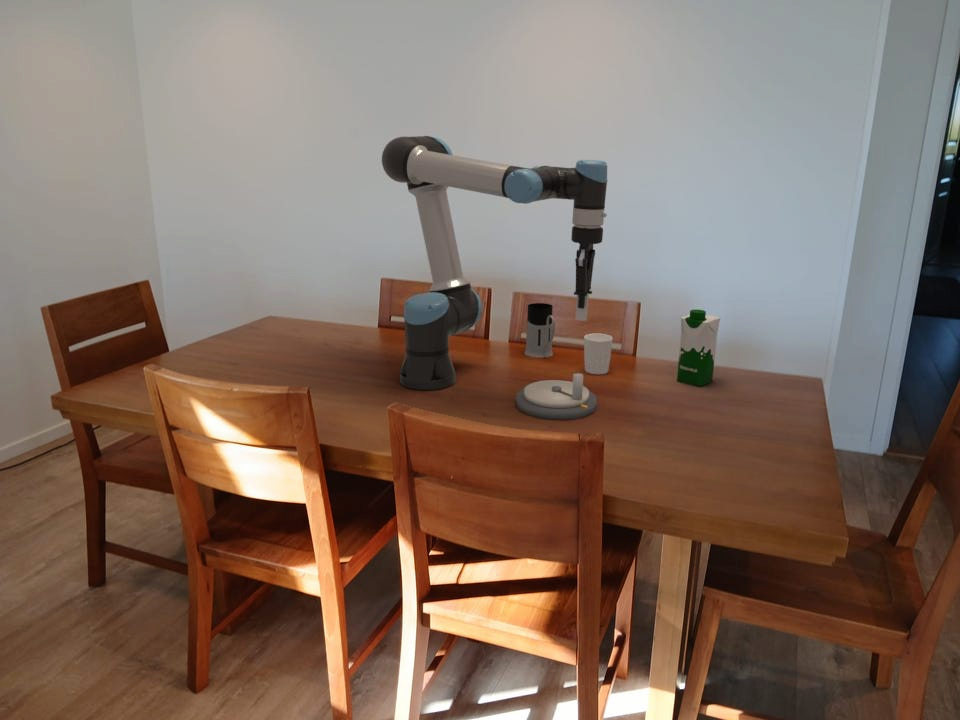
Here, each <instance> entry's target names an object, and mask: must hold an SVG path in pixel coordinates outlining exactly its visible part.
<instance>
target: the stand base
mask: <svg viewBox="0 0 960 720" xmlns="http://www.w3.org/2000/svg"><path fill="white" fill-rule="evenodd" d="M524 389H525V387H524V388H522V389H520V390H519V391H518V392H517V393H516V395H515V407H516V408H517V409H518V410H519V411H520V412H522V413H524V414H526V415H528V416H530V417H535V418H539V419H543V420H544V419H545V420H556V421H566V420H568V421H569V420H577V419H581V418H584V417H588V416H589V415H592V414H593V413H594V412H596V410H597V405H598V398H597V395H596V394H594V393H593V392H592V391H590V390H589V399H588V401H587V402H586V403H584V404H582V405H580V406H576V407H570V408H550V407H543V406H539V405H535V404H533V403H530V402H529V401H527V400H526V399H525V397H524Z"/></svg>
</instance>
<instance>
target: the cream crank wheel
mask: <svg viewBox="0 0 960 720" xmlns="http://www.w3.org/2000/svg"><path fill="white" fill-rule="evenodd" d="M524 388H525V389H524ZM524 388H523V389H524V397H525V399H526V400H527V401H529V402H530V403H533V404H535V405H539V406H543V407H550V408H570V407H576V406H580V405H582V404H584V403H586V402H587V401H588V399H589V391H590V390H589V389H588V388H587V387H586V386H584V374H583V373H579V372H578V373H573V375H572V381H567V380H561V379H560V380H557V379H551V380H550V379H548V380H545V379H544V380H538V381H535V382H531V383H529V384H528V385H526V386H524Z"/></svg>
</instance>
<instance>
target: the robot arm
mask: <svg viewBox="0 0 960 720" xmlns="http://www.w3.org/2000/svg"><path fill="white" fill-rule="evenodd" d="M381 164H382V165H381V166H382V168H383V171H384V172H385V174H386V176H388V177H389V178H390V179H391V180H392V181H395V182H398V183H401V184H402V183H404V184H406V185H407V190H408V193H410V194H412V195H413V196H414V197H415V202H416V206H417V210H418V215H419V220H420V224H421V230H422V236H423V240H424V245H425V250H426V254H427V255H426V256H427V259H428V264H429V269H430V274H431V279H432V285H430V288H429V289H428V290H429V291H428V292H424V293H419V294H418V293H417V294H414V295H412V296H410V297H409V298H408V299H407V300H406V301H405V303H404V312H403V319H404V344H405V347H404V348H405V355H404V357H403V362H402V366H401V370H400V373H399V383H400V385H402V386H403V387H405V388H407V389H412V390H419V391H435V390H441V389H445V388H448V387H451V386H453V385H454V384H455V383H456V371H455V368H454V364H453V362H452V359H451V356H450V347H449V346H450V341H449V338H451V337H452V336H456V335H458V334H460V333H465V332H467V331H469V330H470V329H471V328H472V327H474V326H475V325H477V324H478V323H479V321H480V318H481V316H482V313H483V304H482V303H483V302H482V300H481V297H480V295H479V294H478V293H476V291H475V290H474V289H472V286H471V281H469V280H468V279H467V278H465V276H464V273H463V270H462V263H461V259H460V254H459V249H458V244H457V239H456V234H455V233H456V232H455V228H454V223H453V219H452V213H451V207H450V204H449V198H448V193H447V190H448V188H454V189H459V190H464V191H471V192H476V193H480V194H486V195H492V196H495V197H501V198H505V199H509V200H510V201H512V202H514V203H515V204H527V205H528V204H531V203H532V202H533V203H534V202H539V201H545V200H550V199H558V200H559V199H561V200H573V208H572V219H571V220H572V221H571V222H572V225H573V226H572V227H571V242H573V243H576V244H577V243H578V244H579V247H578V249H576V254H575V255H576V257H575V259H574V261H575V290H574V292H573V296H576V302H575V304H576V305H575V321H583V322H586V321H587V320H588V312H589V308H588V307H589V300H590V299H589V295H592V294H593V291H592V290H591V289H592V278H593V271H594V264H595V262H594V261H595V256H596V249H594V245H597V244H601V243H603V238H604V237H603V236H604V228H603V227H602V226H603V225H604V221H605V220H604V219H605V218H607V216H608V215H607V213H606V212H605V207H606V206H605V205H606V195H607V187H608V186H607V185H608V164H607V162H606V161H604V160H600V159H599V160H598V159H596V160H595V159H578V160H577V161H576V164H575V167H564V166H563V167H562V166H561V167H559V166H550V165H536V166H533V167H531V168H530V167H529V168H527V167H522V166H516V165H510V164H504V163H500V162H494V161H493V162H492V161H487V160H484V159H483V160H482V159H481V160H480V159H475V158H470V157H464V156H459V155H453V152H452V150H451V148H450V146H449V145H448V144H447V143H446V142H445V141H444V140H442V139H441V138H438V137H434V136H431V135H423V136H421V135H420V136H400V137H396V138H393V139H392V140H390V141H388V143H387V144H386V145H385V146H384V148H383V151H382V154H381Z"/></svg>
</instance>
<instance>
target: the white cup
mask: <svg viewBox="0 0 960 720" xmlns="http://www.w3.org/2000/svg"><path fill="white" fill-rule="evenodd" d="M583 341H584V342H583V343H584V344H583V345H584V346H583V357H584V359H583V360H584V372H585V373H588V374H591V375H605V374H607V373H609V370H610V369H609V367H610V362H611V356H612V348H613V347H612V345H613V336H612V335H609V334H605V333H588V334H585V335H584V337H583Z"/></svg>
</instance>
